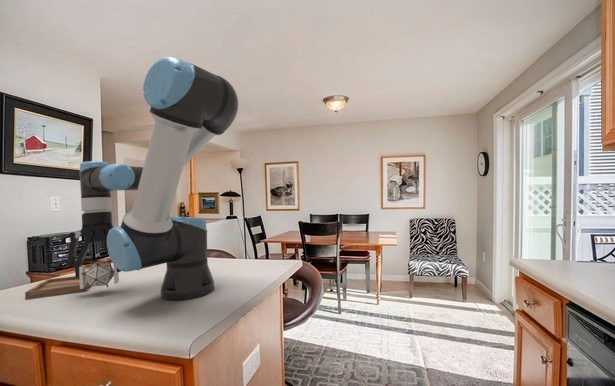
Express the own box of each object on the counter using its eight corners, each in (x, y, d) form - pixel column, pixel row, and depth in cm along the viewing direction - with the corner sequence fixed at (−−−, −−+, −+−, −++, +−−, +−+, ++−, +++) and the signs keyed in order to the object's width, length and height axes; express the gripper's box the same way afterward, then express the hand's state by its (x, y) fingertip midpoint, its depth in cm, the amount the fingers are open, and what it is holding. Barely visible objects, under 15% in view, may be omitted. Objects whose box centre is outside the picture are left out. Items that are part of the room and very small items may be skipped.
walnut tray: (86, 291, 92) (86, 284, 92) (25, 299, 86) (25, 292, 86) (99, 279, 106) (98, 273, 106) (47, 285, 100) (46, 279, 100)
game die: (100, 300, 87) (95, 278, 82) (78, 289, 89) (71, 267, 83) (125, 279, 95) (121, 258, 90) (104, 269, 96) (99, 248, 91)
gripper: (137, 209, 97) (140, 276, 96) (59, 213, 89) (62, 287, 88) (133, 209, 90) (137, 282, 90) (49, 214, 82) (52, 294, 81)
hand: (100, 285), depth 89 cm, fingers closed on game die, 8 cm apart
